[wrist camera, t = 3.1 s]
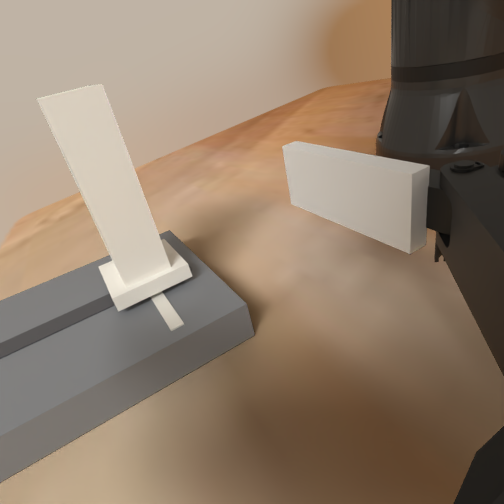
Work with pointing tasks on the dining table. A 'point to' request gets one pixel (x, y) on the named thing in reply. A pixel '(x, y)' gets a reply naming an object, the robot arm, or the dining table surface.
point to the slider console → (102, 352)
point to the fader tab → (112, 195)
